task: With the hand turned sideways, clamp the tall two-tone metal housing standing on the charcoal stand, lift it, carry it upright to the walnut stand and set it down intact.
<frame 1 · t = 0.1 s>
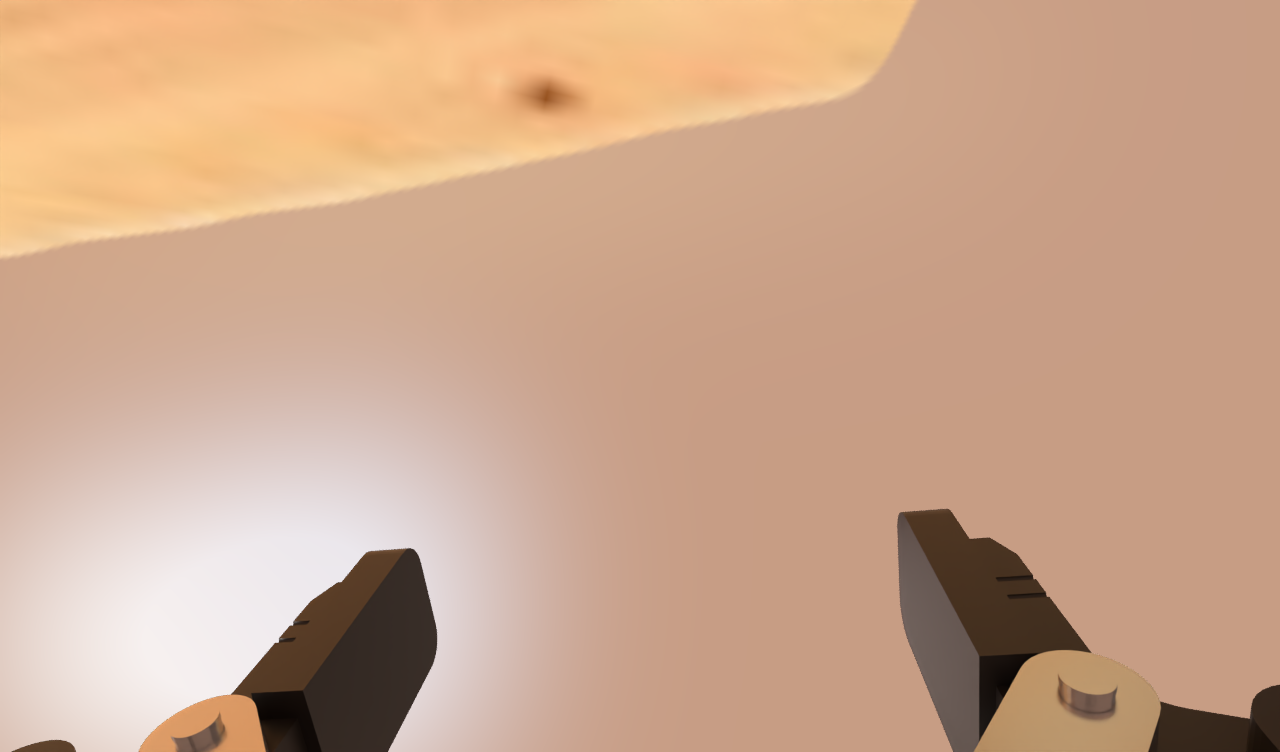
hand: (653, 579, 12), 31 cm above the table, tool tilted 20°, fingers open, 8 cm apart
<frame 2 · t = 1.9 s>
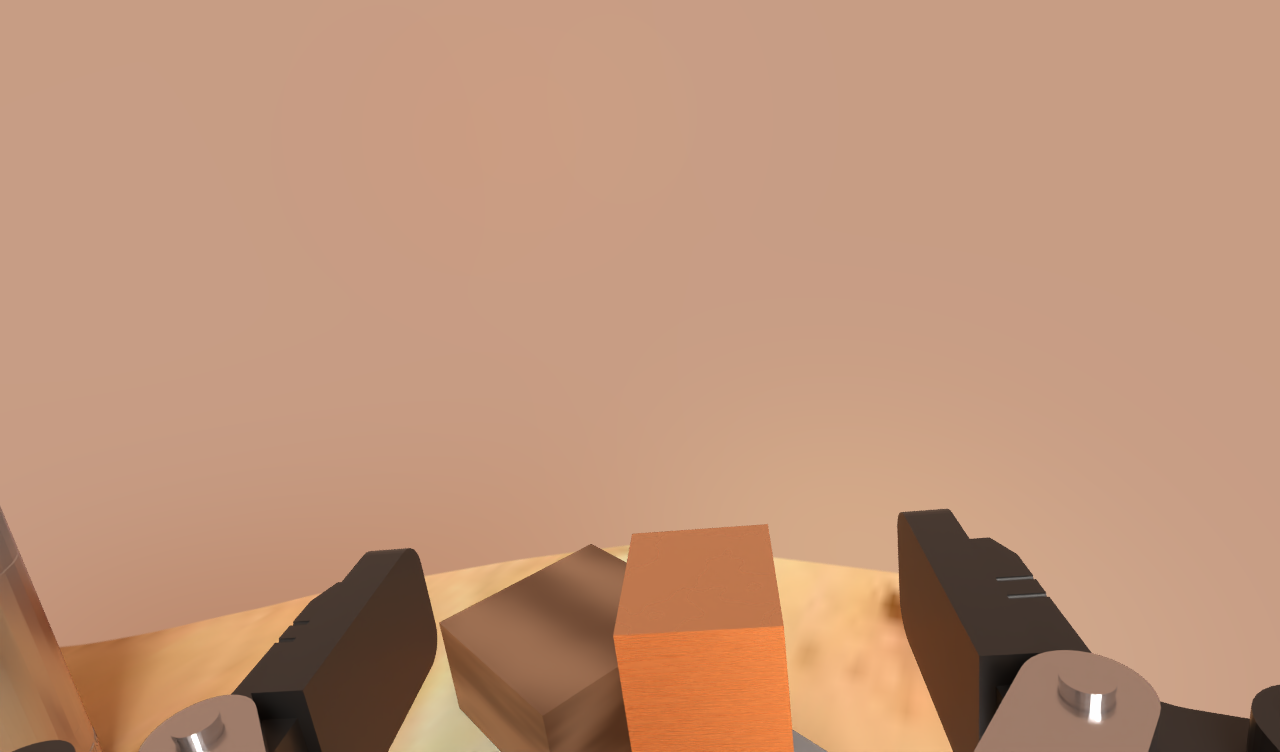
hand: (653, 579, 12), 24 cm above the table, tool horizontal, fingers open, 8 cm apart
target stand: (586, 702, 44), on the table
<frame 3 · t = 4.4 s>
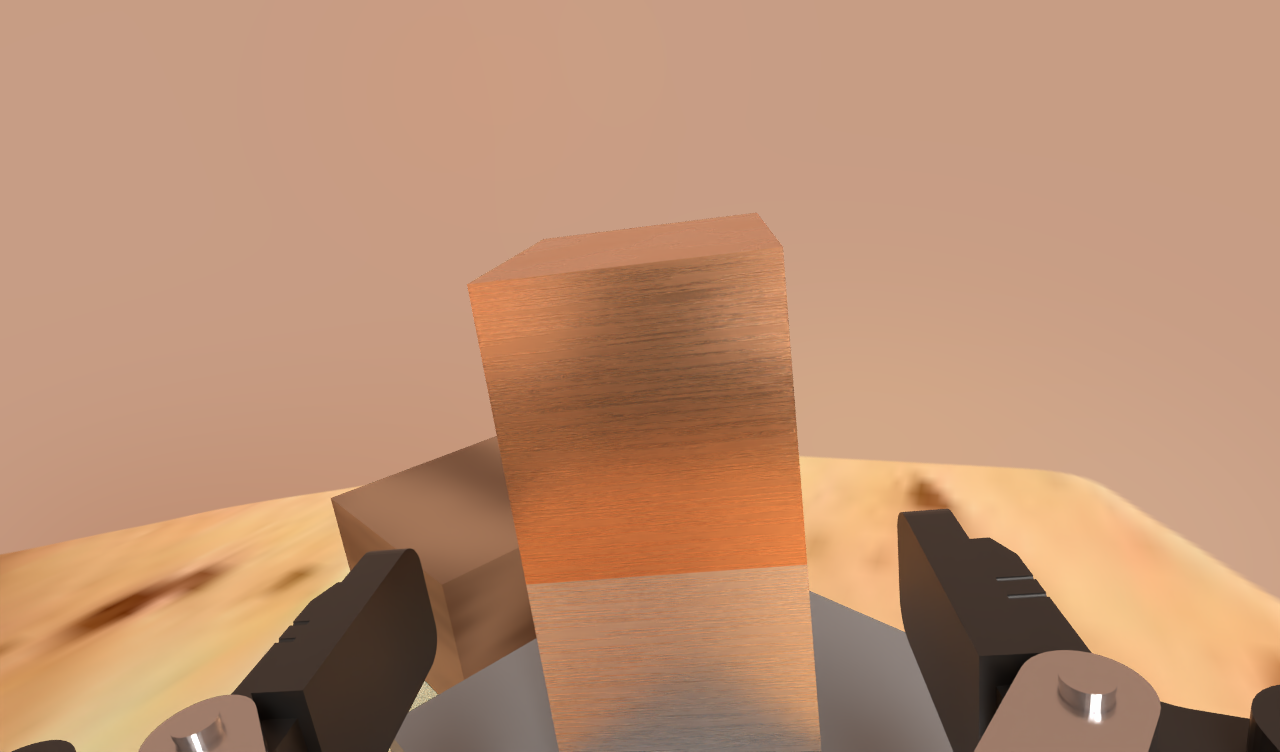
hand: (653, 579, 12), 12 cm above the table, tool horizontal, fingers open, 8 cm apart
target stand: (526, 604, 34), on the table
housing: (698, 710, 18), point 6 cm above the table, touching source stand
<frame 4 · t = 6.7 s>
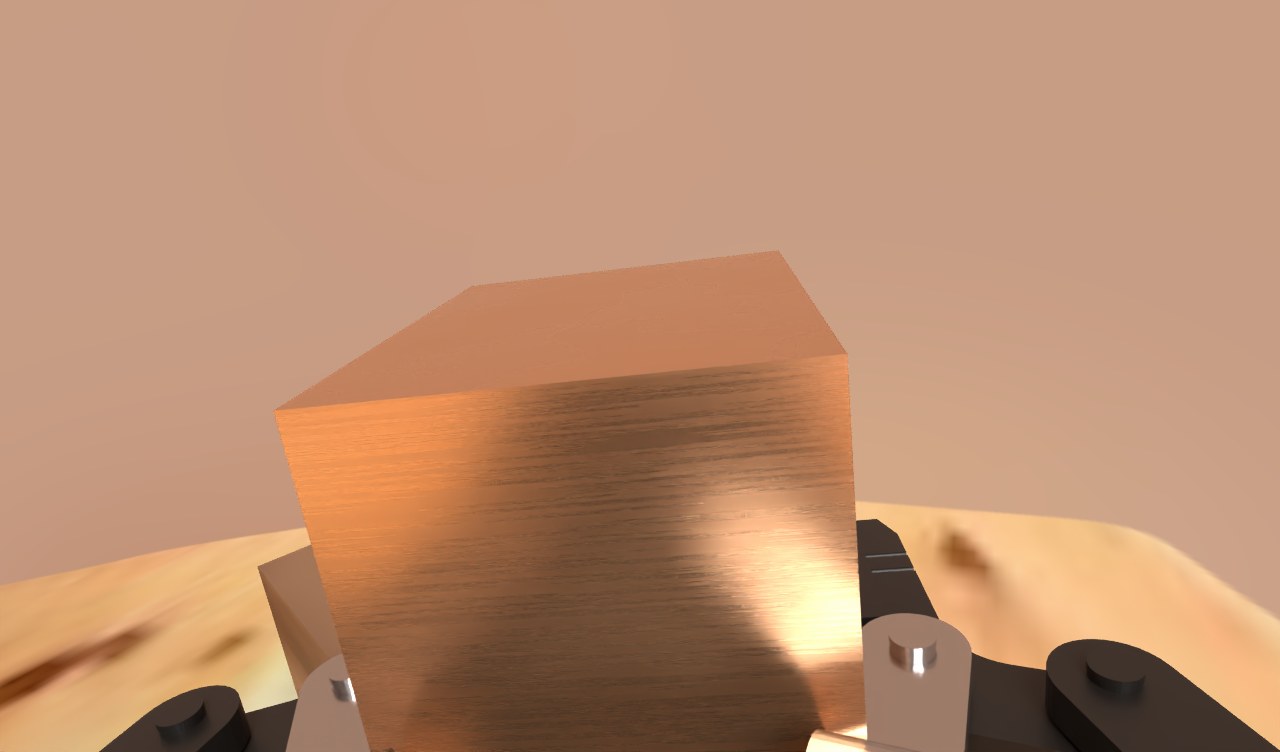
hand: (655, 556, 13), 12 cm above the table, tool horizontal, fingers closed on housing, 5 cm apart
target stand: (491, 691, 29), on the table
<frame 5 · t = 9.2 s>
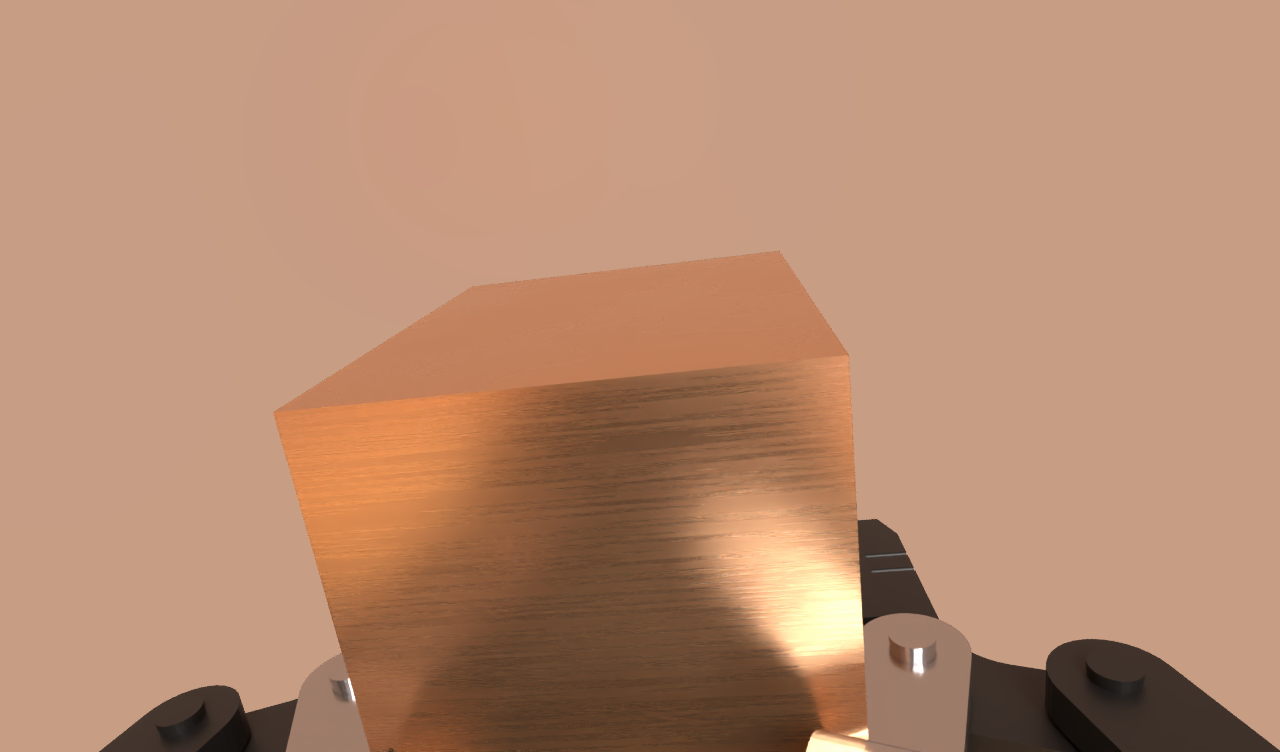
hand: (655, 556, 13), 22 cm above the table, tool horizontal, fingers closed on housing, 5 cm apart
when the fingers open (13 cm above the table, at t = 12.2 s): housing drops 1 cm, resting on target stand.
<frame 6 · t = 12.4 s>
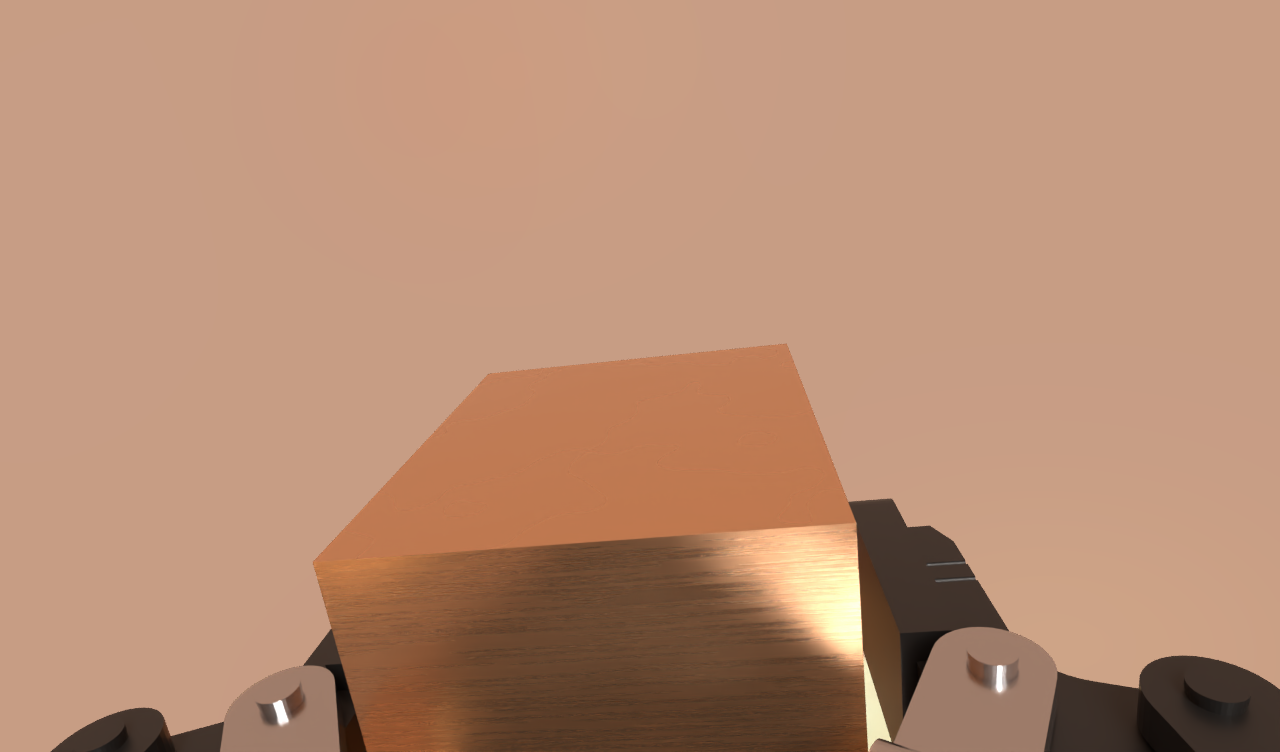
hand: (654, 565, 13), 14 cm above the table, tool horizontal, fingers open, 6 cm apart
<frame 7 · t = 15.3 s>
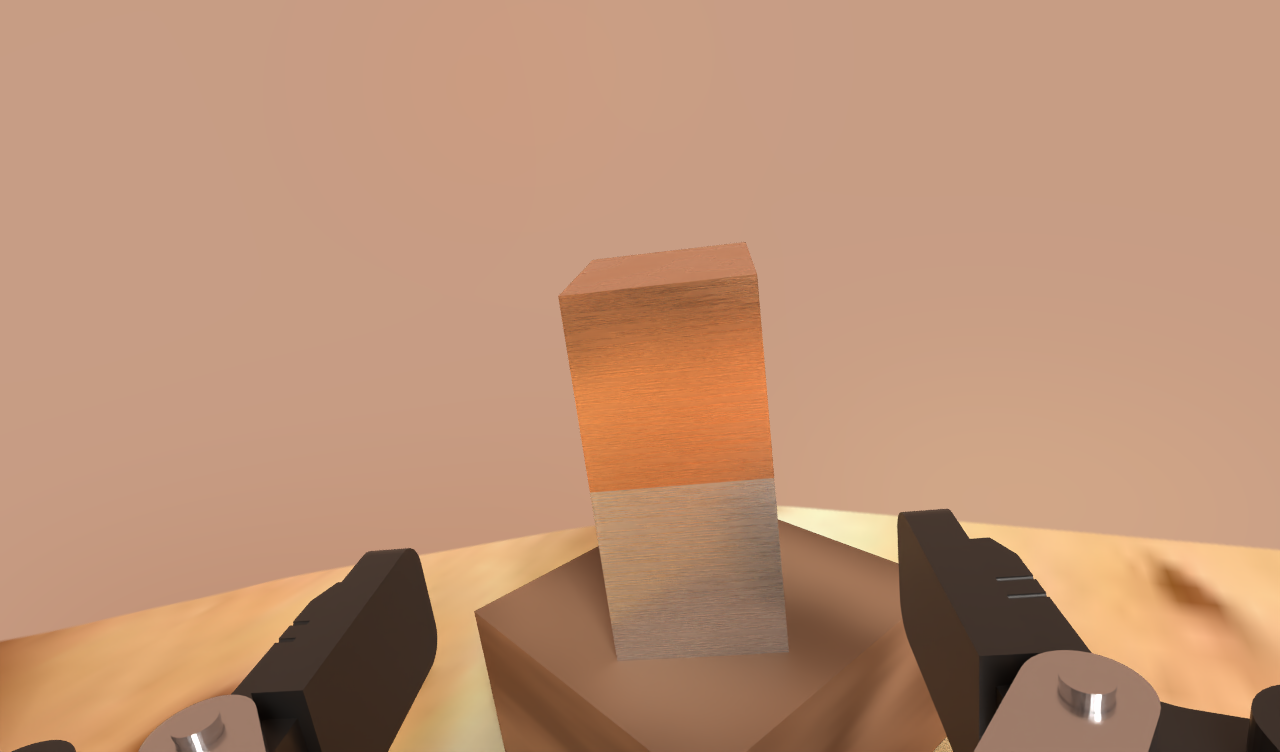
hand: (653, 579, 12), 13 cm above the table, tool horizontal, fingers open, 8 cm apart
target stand: (719, 744, 27), on the table
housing: (702, 597, 25), point 6 cm above the table, touching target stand
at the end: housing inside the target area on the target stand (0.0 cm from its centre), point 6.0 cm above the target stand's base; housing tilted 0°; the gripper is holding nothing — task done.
